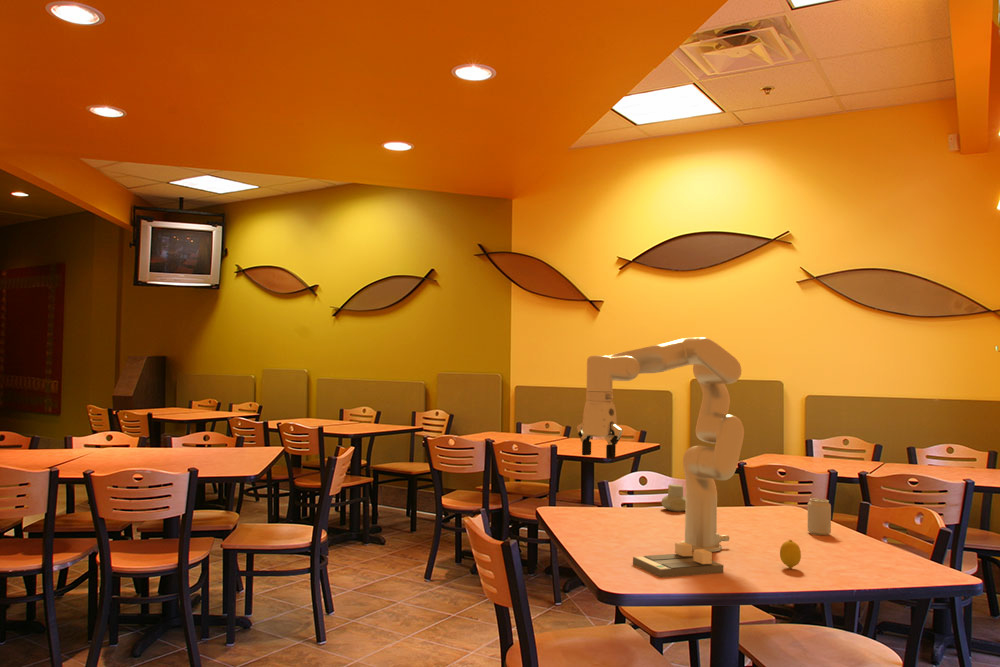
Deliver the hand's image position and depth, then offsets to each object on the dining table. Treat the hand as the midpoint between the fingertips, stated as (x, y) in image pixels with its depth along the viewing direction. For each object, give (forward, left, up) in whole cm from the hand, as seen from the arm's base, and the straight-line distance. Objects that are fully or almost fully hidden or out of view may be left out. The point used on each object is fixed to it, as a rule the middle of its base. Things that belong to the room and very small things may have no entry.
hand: (598, 456), depth 216 cm
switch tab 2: (-22, +20, -27) cm, 40 cm away
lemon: (-49, +24, -29) cm, 62 cm away
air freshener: (-70, -64, -29) cm, 100 cm away
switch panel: (-17, +16, -29) cm, 37 cm away
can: (-95, -13, -29) cm, 100 cm away
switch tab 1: (-22, +11, -27) cm, 36 cm away
